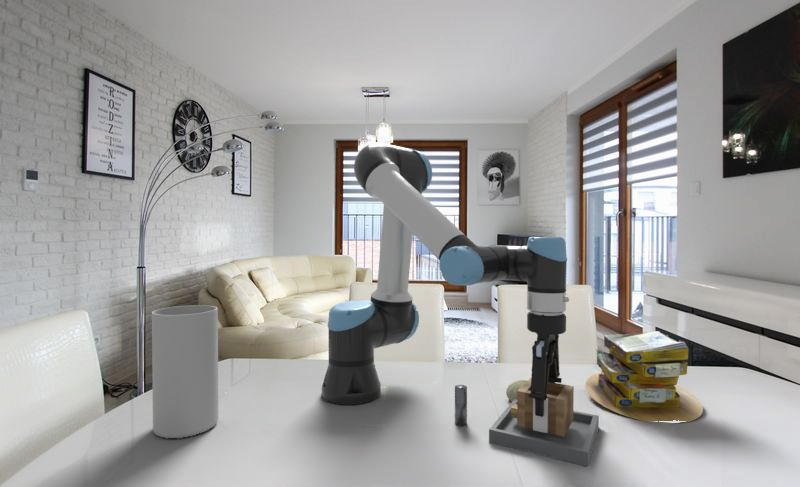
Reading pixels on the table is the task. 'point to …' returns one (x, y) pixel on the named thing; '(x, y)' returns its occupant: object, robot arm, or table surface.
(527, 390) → the wooden light box
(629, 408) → the stack of yellow boxes
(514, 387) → the sea urchin shell
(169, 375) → the cylinder vase
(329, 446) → the table surface
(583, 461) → the tray
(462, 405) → the grey rounded cylinder
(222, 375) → the table surface
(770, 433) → the table surface
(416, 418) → the table surface
